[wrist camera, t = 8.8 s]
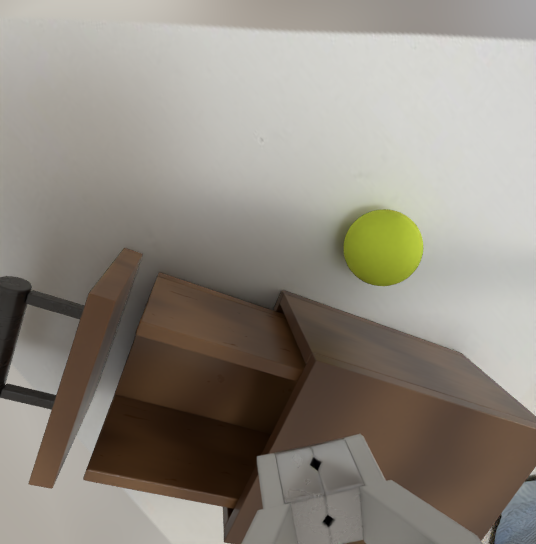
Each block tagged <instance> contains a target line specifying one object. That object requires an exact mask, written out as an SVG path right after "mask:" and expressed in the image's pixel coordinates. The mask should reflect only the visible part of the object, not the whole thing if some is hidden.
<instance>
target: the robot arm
mask: <svg viewBox="0 0 536 544" xmlns="http://www.w3.org/2000/svg"><path fill="white" fill-rule="evenodd" d="M275 456H276V457H275ZM257 467H258V474H259V482H260V489H261V497H262V504H263V509H261V510H258V511H257V513H256V515H255V517H254V519H253V521H252V523H251V525H250V527H249V529H248V531H247V533H246V535H245V537H244V539H243V541H242V543H241V544H346V543H351V542H356V541H360V540H364V542H365V543H366V544H482V542H481V541H480V539H479V538H478V536H477V535H475V534H474V533H472V532H471V531H469V530H468V529H466V528H464V527H463V526H461V525H460V524H458V523H457V522H455V521H454V520H452V519H451V518H449V517H448V516H446V515H445V514H443V513H441V512H440V511H438V510H437V509H435V508H434V507H432V506H431V505H429V504H428V503H426V502H425V501H423V500H421V499H420V498H418V497H417V496H415V495H414V494H412V493H411V492H409V491H408V490H406V489H405V488H403V487H402V486H400V485H398V484H397V483H395V482H394V481H392V480H388V481H386V480H385V478H384V476H383V474H382V472H381V470H380V468H379V466H378V464H377V462H376V460H375V458H374V456H373V454H372V453H371V451H370V449H369V447H368V445H367V443H366V441H365V439H364V437H363V436H362V435H361V434H357V435H353V436H349V437H344V438H340V439H336V440H331V441H327V442H323V443H318V444H314V445H310V446H306V447H301V448H295V449H290V450H285V451H280V452H275V453H272V454H266V455H261V456H257Z"/></svg>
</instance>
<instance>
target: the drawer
mask: <svg viewBox="0 0 536 544" xmlns="http://www.w3.org/2000/svg"><path fill="white" fill-rule="evenodd" d="M142 256H143V254H141V253H138V252H136V251H133V250H130V249H127V248H124V249H123V250H122V252H121V253H120V254H119V255H118V257H117V258H116V259H115V260H114V262H113V263H112V264H111V266H110V267H109V268H108V269H107V271H106V272H105V273H104V275H103V276H102V277H101V278H100V280H99V281H98V282H97V283H96V285H95V286H94V287H93V289H92V290H91V291H90V292H89V294H88V297H87V300H86V303H85V306H84V305H81V304H78V303H74V302H71V301H68V300H64V299H61V298H58V297H54V296H51V295H48V294H44V293H41V292H38V291H34V290H32V291H31V288H32V285H31V283H30V282H28V281H27V280H24V279H22V278H18V277H12V276H4V277H0V398H4V399H9V400H13V401H17V402H21V403H26V404H30V405H35V406H39V407H43V408H47V409H52V411H51V414H50V417H49V420H48V423H47V427H46V430H45V433H44V436H43V439H42V442H41V446H40V449H39V452H38V455H37V458H36V461H35V464H34V468H33V471H32V474H31V477H30V481H29V484H30V485H35V486H41V487H46V488H53V486H54V484H55V481H56V479H57V477H58V475H59V473H60V470H61V468H62V466H63V464H64V461H65V459H66V457H67V455H68V453H69V450H70V448H71V446H72V444H73V441H74V439H75V437H76V435H77V433H78V430H79V428H80V426H81V424H82V422H83V419H84V417H85V415H86V413H87V410H88V408H89V406H90V404H91V402H92V399H93V397H94V394H95V391H96V389H97V386H98V383H99V380H100V377H101V374H102V371H103V368H104V365H105V363H106V360H107V357H108V354H109V351H110V348H111V345H112V342H113V339H114V336H115V334H116V331H117V328H118V325H119V322H120V319H121V316H122V313H123V310H124V308H125V305H126V302H127V299H128V296H129V293H130V290H131V287H132V284H133V282H134V279H135V276H136V273H137V270H138V267H139V264H140V261H141V258H142ZM27 304H29V305H33V306H36V307H40V308H43V309H46V310H50V311H53V312H57V313H60V314H64V315H67V316H70V317H74V318H77V319H80V322H79V325H78V328H77V332H76V335H75V338H74V341H73V344H72V347H71V351H70V354H69V357H68V360H67V363H66V366H65V370H64V373H63V376H62V379H61V382H60V385H59V389H58V392H57V395H53V394H49V393H45V392H41V391H37V390H32V389H28V388H24V387H20V386H16V385H11V384H6V385H5V383H6V380H7V376H8V372H9V369H10V365H11V362H12V358H13V354H14V351H15V347H16V343H17V340H18V336H19V332H20V329H21V325H22V321H23V318H24V314H25V310H26V307H27ZM305 366H306V363H305V361H304V359H303V356H302V354H301V352H300V349H299V347H298V345H297V342H296V340H295V338H294V335H293V333H292V331H291V328H290V326H289V324H288V321H287V319H286V317H285V314H282V313H279V312H276V311H273V310H270V309H267V308H264V307H261V306H258V305H255V304H252V303H249V302H246V301H243V300H240V299H237V298H234V297H232V296H229V295H226V294H223V293H220V292H217V291H214V290H211V289H208V288H205V287H202V286H199V285H196V284H193V283H190V282H187V281H184V280H181V279H178V278H175V277H172V276H169V275H166V274H163V273H160V272H159V273H158V275H157V278H156V281H155V283H154V286H153V288H152V291H151V294H150V296H149V299H148V301H147V304H146V307H145V309H144V312H143V314H142V317H141V320H140V322H139V325H138V328H137V331H136V336H135V339H134V342H133V344H132V347H131V350H130V353H129V355H128V358H127V361H126V364H125V367H124V369H123V372H122V375H121V378H120V380H119V383H118V386H117V389H116V391H115V394H114V397H113V400H112V402H111V405H110V408H109V410H108V413H107V416H106V418H105V421H104V424H103V426H102V429H101V432H100V434H99V437H98V440H97V442H96V445H95V448H94V450H93V453H92V456H91V459H90V461H89V464H88V467H87V469H86V472H85V475H84V478H83V479H84V480H86V481H91V482H96V483H101V484H106V485H112V486H117V487H122V488H127V489H133V490H138V491H143V492H148V493H154V494H159V495H164V496H169V497H175V498H180V499H185V500H190V501H196V502H201V503H206V504H211V505H217V506H222V507H227V508H232V509H234V508H235V506H236V504H237V502H238V500H239V498H240V496H241V494H242V492H243V490H244V488H245V486H246V484H247V482H248V480H249V478H250V476H251V474H252V472H253V470H254V468H255V466H256V464H257V456H261V454H262V452H263V450H264V448H265V446H266V444H267V442H268V440H269V438H270V436H271V434H272V432H273V430H274V428H275V426H276V424H277V422H278V420H279V418H280V416H281V414H282V412H283V410H284V408H285V406H286V404H287V402H288V400H289V398H290V396H291V394H292V392H293V390H294V388H295V386H296V384H297V382H298V380H299V378H300V376H301V374H302V372H303V370H304V368H305Z"/></svg>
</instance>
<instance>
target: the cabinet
mask: <svg viewBox="0 0 536 544" xmlns="http://www.w3.org/2000/svg"><path fill="white" fill-rule="evenodd" d="M273 311H276V312H279V313H282V314H285V317H286V319H287V321H288V324H289V326H290V328H291V331H292V333H293V335H294V338H295V340H296V342H297V345H298V347H299V349H300V352H301V354H302V356H303V359H304V361H305V363H306V366H305V368H304V370H303V372H302V374H301V376H300V378H299V380H298V382H297V384H296V386H295V388H294V390H293V392H292V394H291V396H290V398H289V400H288V402H287V404H286V406H285V408H284V410H283V412H282V414H281V416H280V418H279V420H278V422H277V424H276V426H275V428H274V430H273V432H272V434H271V436H270V438H269V440H268V442H267V444H266V446H265V448H264V450H263V452H262V454H261V455H266V454H272V453H275V452H280V451H285V450H290V449H295V448H301V447H306V446H310V445H314V444H318V443H323V442H327V441H331V440H336V439H340V438H344V437H349V436H353V435H357V434H361V435H362V436H363V437H364V439H365V441H366V443H367V445H368V447H369V449H370V451H371V453H372V454H373V456H374V458H375V460H376V462H377V464H378V466H379V468H380V470H381V472H382V474H383V476H384V478H385V480H386V481H388V480H392V481H394V482H395V483H397V484H398V485H400V486H402V487H403V488H405V489H406V490H408V491H409V492H411V493H412V494H414V495H415V496H417V497H418V498H420V499H421V500H423V501H425V502H426V503H428V504H429V505H431V506H432V507H434V508H435V509H437V510H438V511H440V512H441V513H443V514H445V515H446V516H448V517H449V518H451V519H452V520H454V521H455V522H457V523H458V524H460V525H461V526H463V527H464V528H466V529H468V530H469V531H471V532H472V533H474V534H475V535H477V536H478V538H479V539H480V541H481V540H482V539H483V538H484V536H485V535H486V534H487V532H488V531H489V530H490V528H491V527H492V525H493V524H494V523H495V521H496V520H497V519H498V517H499V516H500V515H501V513H502V512H503V510H504V509H505V508H506V506H507V505H508V504H509V502H510V501H511V500H512V498H513V497H514V495H515V494H516V493H517V491H518V490H519V489H520V487H521V486H522V485H523V483H524V482H525V480H526V479H527V478H528V476H529V475H530V474H531V472H532V471H533V470H534V468H535V467H536V416H535V415H534V414H532V413H531V412H530V411H529V410H528V409H527V408H525V407H524V406H523V405H522V404H521V403H519V402H518V401H517V400H516V399H515V398H514V397H512V396H511V395H510V394H509V393H508V392H507V391H505V390H504V389H503V388H502V387H501V386H499V385H498V384H497V383H496V382H495V381H494V380H492V379H491V378H490V377H489V376H488V375H487V374H485V373H484V372H483V371H482V370H481V369H479V368H478V367H477V366H476V365H475V364H474V363H472V362H471V361H470V360H469V359H468V358H466V357H465V356H464V355H463V354H462V353H459V352H457V351H454V350H451V349H448V348H445V347H442V346H440V345H437V344H434V343H431V342H428V341H426V340H423V339H420V338H417V337H414V336H411V335H409V334H406V333H403V332H400V331H397V330H394V329H392V328H389V327H386V326H383V325H380V324H378V323H375V322H372V321H369V320H366V319H363V318H361V317H358V316H355V315H352V314H349V313H347V312H344V311H341V310H338V309H335V308H332V307H330V306H327V305H324V304H321V303H318V302H315V301H313V300H310V299H307V298H304V297H301V296H299V295H296V294H293V293H290V292H287V291H284V290H282V291H281V293H280V296H279V298H278V300H277V302H276V304H275V307H274V309H273ZM275 457H276V456H275ZM261 509H263V504H262V497H261V489H260V482H259V474H258V467H257V464H256V466H255V468H254V470H253V472H252V474H251V476H250V478H249V480H248V482H247V484H246V486H245V488H244V490H243V492H242V494H241V496H240V498H239V500H238V502H237V504H236V506H235V508H234V509H232V508H227V507H223V524H224V542H225V543H231V544H241V543H242V541H243V539H244V537H245V535H246V533H247V531H248V529H249V527H250V525H251V523H252V521H253V519H254V517H255V515H256V513H257V511H258V510H261ZM346 544H366V543H365V542H364V540H360V541H356V542H351V543H346Z"/></svg>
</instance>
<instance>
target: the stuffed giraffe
mask: <svg viewBox="0 0 536 544" xmlns="http://www.w3.org/2000/svg"><path fill="white" fill-rule="evenodd" d="M501 514H502V518H501V520H500V524H499V525H498V528H497V530H496V535H495V544H536V481H526V482H524V483H523V485H522V486H521V487H520V489H519V490H518V491H517V493H516V494H515V495H514V497H513V498H512V500H511V501H510V502H509V504H508V505H507V506H506V508H505V509H504V510H503V512H502V513H501Z"/></svg>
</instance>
